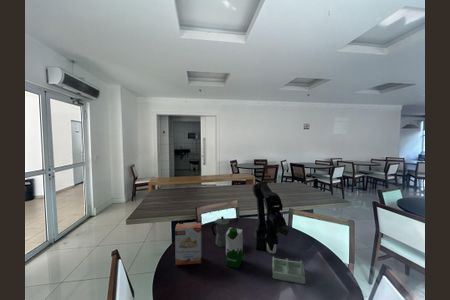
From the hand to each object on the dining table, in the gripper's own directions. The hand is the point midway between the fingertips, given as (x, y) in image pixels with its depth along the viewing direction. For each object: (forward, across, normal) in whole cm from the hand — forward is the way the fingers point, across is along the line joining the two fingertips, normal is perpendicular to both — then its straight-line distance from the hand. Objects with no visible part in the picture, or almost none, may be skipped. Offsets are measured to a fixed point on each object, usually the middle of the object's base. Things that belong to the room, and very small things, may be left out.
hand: (271, 247), depth 96 cm
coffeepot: (+12, +15, +32) cm, 38 cm away
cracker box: (+12, -6, +45) cm, 47 cm away
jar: (+2, 0, 0) cm, 2 cm away
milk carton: (+12, 0, +20) cm, 23 cm away
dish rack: (+12, 0, -8) cm, 14 cm away
